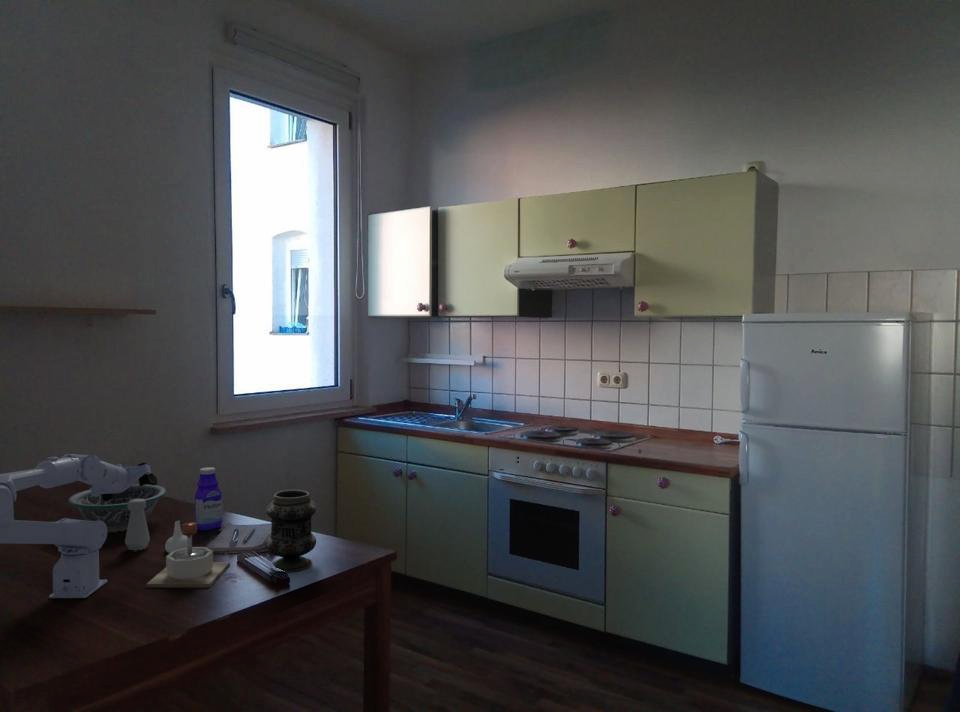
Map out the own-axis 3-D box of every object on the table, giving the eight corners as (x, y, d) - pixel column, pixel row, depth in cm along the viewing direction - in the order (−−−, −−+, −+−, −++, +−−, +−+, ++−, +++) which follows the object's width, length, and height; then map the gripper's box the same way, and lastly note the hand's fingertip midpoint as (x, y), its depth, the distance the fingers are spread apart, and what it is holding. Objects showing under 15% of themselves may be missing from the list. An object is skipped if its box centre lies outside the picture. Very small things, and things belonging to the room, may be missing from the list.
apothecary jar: (326, 562, 173) (326, 491, 172) (290, 578, 163) (290, 502, 162) (291, 553, 179) (291, 485, 178) (255, 568, 169) (254, 495, 168)
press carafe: (202, 580, 159) (202, 560, 158) (161, 579, 158) (160, 560, 158) (217, 565, 168) (217, 547, 168) (178, 565, 168) (177, 547, 167)
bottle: (202, 533, 195) (201, 472, 194) (191, 529, 199) (190, 469, 198) (225, 527, 201) (225, 467, 200) (214, 523, 204) (214, 465, 204)
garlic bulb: (191, 547, 185) (191, 517, 185) (191, 552, 179) (190, 521, 179) (165, 550, 183) (165, 519, 183) (164, 555, 177) (164, 524, 177)
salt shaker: (139, 553, 178) (138, 503, 177) (120, 551, 179) (119, 502, 179) (154, 546, 184) (153, 497, 183) (135, 544, 185) (134, 496, 184)
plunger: (198, 560, 160) (198, 528, 159) (170, 560, 160) (169, 528, 159) (208, 551, 166) (208, 520, 166) (181, 551, 166) (181, 520, 166)
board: (209, 587, 156) (209, 583, 156) (146, 587, 156) (146, 583, 156) (229, 565, 170) (229, 562, 170) (172, 565, 170) (172, 561, 170)
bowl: (164, 535, 193) (163, 501, 193) (61, 545, 184) (60, 509, 183) (168, 511, 216) (168, 481, 216) (77, 519, 207) (76, 487, 207)
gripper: (131, 448, 163) (165, 461, 176) (75, 472, 163) (112, 483, 176) (136, 475, 161) (170, 486, 173) (79, 500, 161) (117, 509, 173)
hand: (141, 487), depth 174 cm, fingers open, 7 cm apart
